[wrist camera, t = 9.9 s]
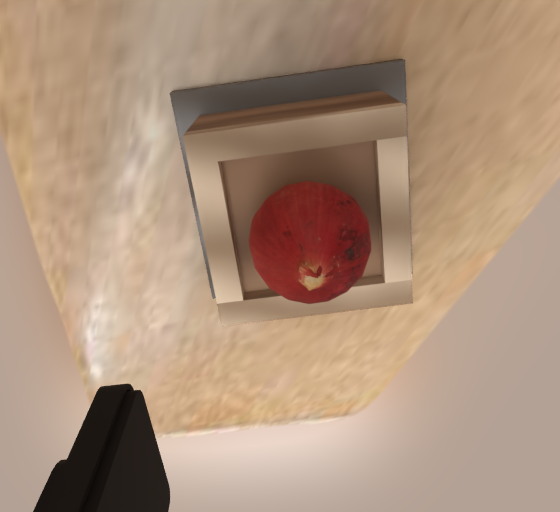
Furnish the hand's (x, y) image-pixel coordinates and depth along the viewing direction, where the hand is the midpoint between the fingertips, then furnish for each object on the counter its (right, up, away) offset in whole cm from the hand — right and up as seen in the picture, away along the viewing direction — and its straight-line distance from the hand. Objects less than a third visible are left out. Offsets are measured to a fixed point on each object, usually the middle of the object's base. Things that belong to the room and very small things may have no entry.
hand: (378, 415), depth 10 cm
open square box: (-1, +8, +24) cm, 25 cm away
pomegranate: (0, +5, +18) cm, 19 cm away
